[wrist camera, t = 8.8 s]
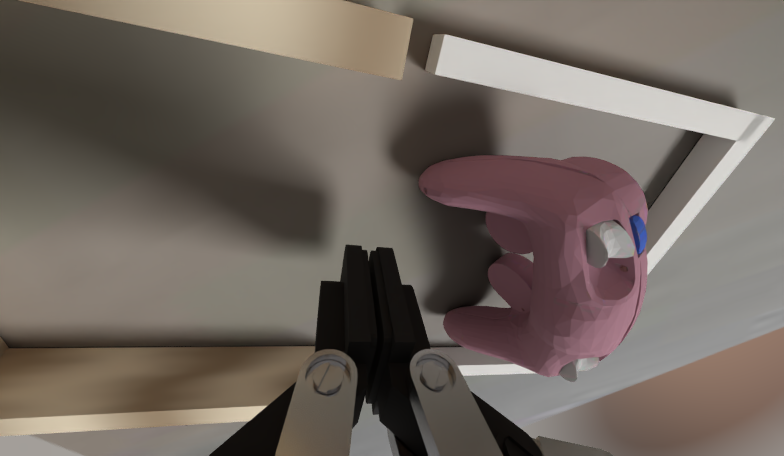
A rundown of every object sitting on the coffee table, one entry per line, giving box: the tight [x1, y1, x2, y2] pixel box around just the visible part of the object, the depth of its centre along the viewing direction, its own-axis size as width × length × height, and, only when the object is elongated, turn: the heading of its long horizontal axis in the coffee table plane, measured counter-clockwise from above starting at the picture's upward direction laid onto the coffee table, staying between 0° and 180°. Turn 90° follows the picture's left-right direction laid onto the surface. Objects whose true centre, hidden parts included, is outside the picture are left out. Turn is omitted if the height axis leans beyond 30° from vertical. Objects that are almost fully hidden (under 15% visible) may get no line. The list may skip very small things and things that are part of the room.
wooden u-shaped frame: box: [0, 0, 413, 436], centre depth 10 cm, size 15×16×3 cm
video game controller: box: [419, 155, 648, 382], centre depth 12 cm, size 10×5×7 cm, turn 12°
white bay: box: [425, 34, 775, 376], centre depth 14 cm, size 14×16×1 cm
